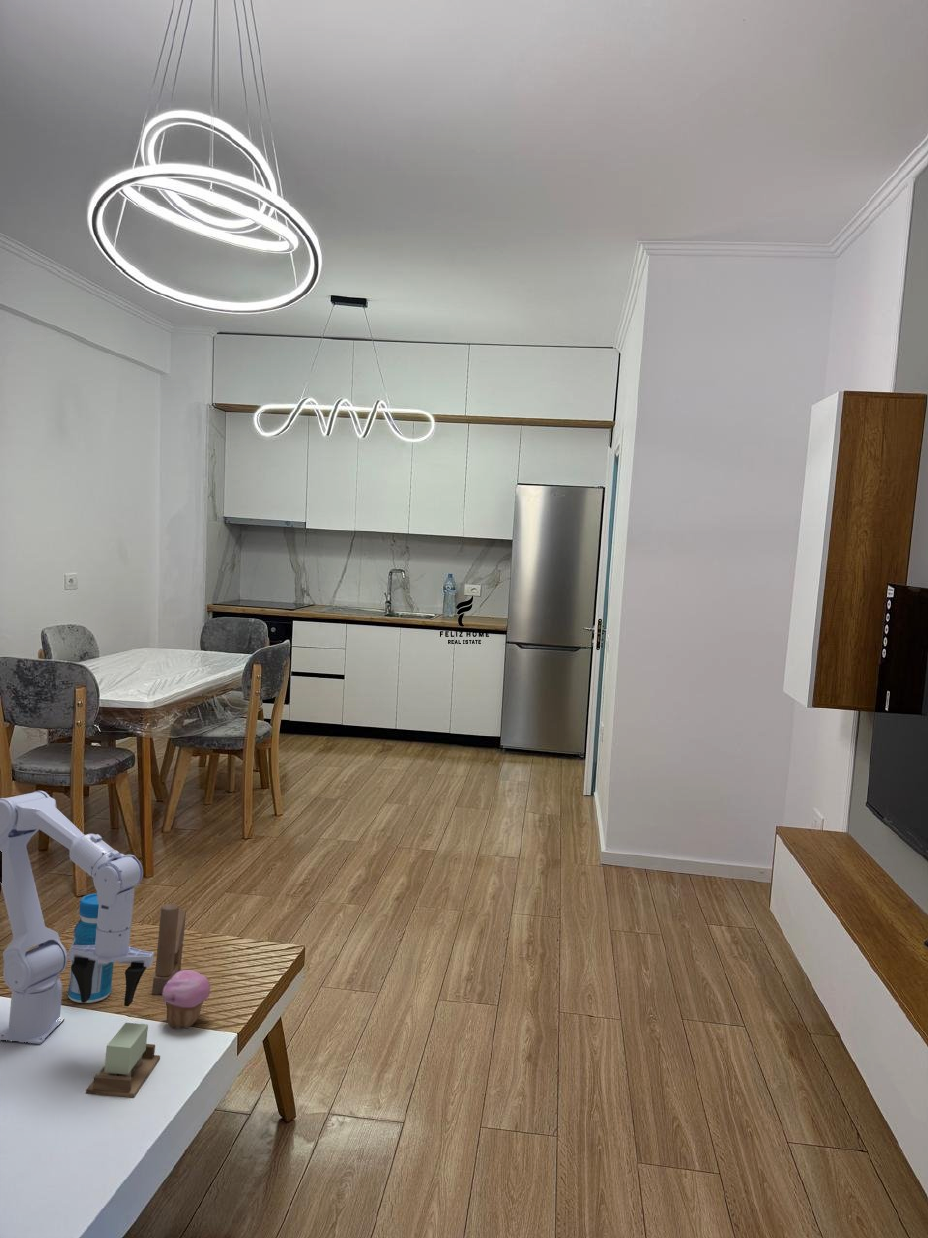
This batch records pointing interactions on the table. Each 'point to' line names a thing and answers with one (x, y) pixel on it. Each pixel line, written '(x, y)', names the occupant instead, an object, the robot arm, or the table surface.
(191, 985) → the cupcake
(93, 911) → the beverage bottle
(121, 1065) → the pale green block
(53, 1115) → the table surface
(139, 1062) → the peg frame
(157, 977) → the wooden block
